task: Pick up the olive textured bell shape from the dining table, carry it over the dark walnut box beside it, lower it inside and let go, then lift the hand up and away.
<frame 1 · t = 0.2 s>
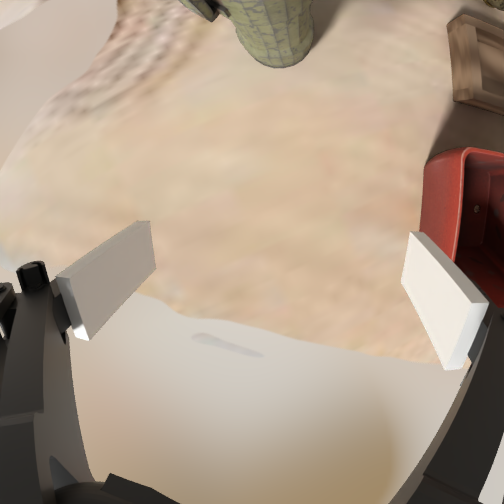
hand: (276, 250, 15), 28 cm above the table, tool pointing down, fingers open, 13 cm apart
olive textured bell shape: (487, 0, 22), on the table
walnut box: (500, 77, 28), on the table
thermos: (279, 40, 33), on the table
plant pot: (456, 206, 37), on the table
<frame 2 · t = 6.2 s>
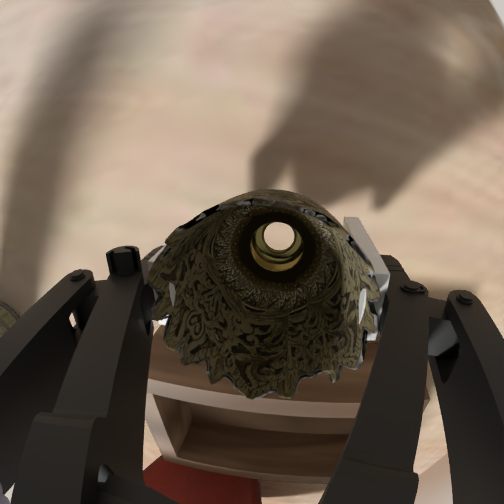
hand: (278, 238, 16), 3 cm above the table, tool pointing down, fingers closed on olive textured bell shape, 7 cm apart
olive textured bell shape: (279, 234, 16), point 2 cm above the table, touching gripper
walnut box: (280, 393, 24), on the table
thermos: (15, 329, 30), on the table
plant pot: (216, 477, 34), on the table
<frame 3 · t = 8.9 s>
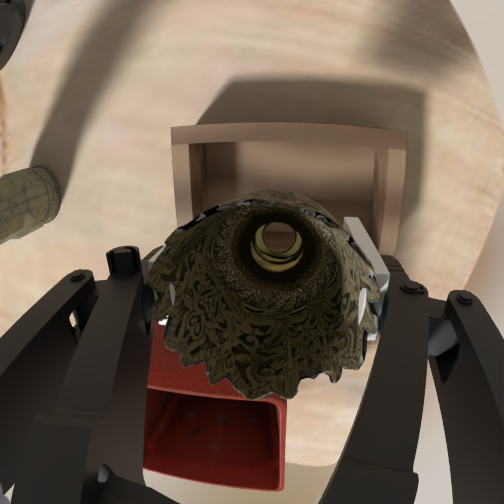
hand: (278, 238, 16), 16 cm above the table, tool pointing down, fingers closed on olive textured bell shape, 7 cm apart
olive textured bell shape: (279, 234, 16), point 15 cm above the table, touching gripper
walnut box: (290, 185, 31), on the table
thermos: (42, 193, 36), on the table
plant pot: (225, 346, 40), on the table
when the fingers open (3 cm above the table, at t = 11.8 s): olive textured bell shape drops 2 cm, resting on walnut box.
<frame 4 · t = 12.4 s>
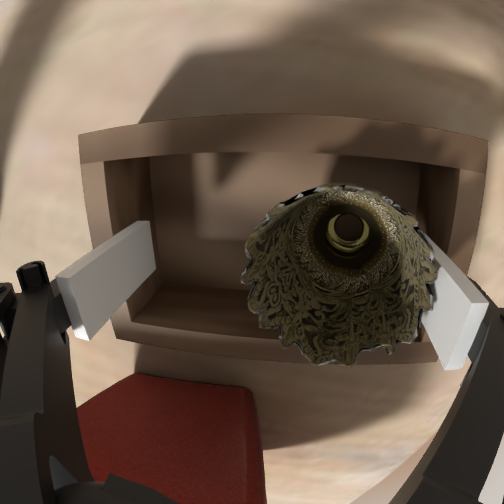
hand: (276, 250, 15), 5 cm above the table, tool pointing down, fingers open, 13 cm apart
olive textured bell shape: (349, 226, 18), point 1 cm above the table, touching gripper, walnut box
walnut box: (282, 219, 19), on the table
plant pot: (200, 416, 29), on the table
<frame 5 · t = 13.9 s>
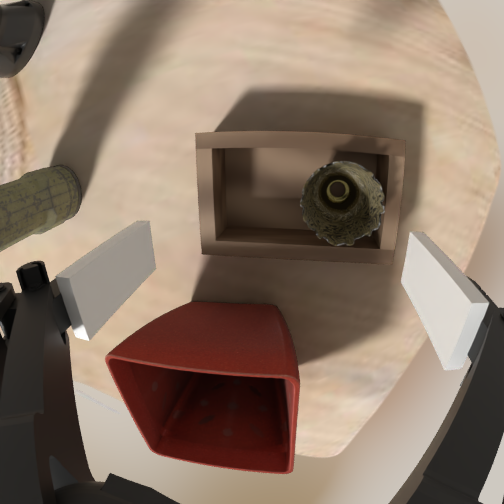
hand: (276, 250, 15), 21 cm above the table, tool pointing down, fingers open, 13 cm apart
olive textured bell shape: (337, 189, 32), point 1 cm above the table, touching walnut box
walnut box: (300, 187, 34), on the table
thermos: (62, 191, 39), on the table
plant pot: (237, 337, 43), on the table
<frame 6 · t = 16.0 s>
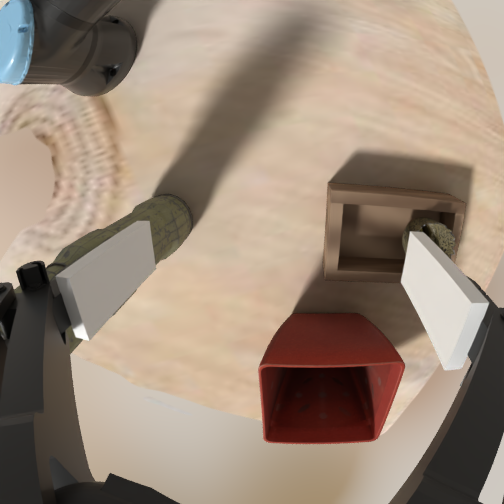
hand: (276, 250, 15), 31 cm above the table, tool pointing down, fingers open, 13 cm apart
olive textured bell shape: (413, 230, 42), point 1 cm above the table, touching walnut box
walnut box: (388, 227, 43), on the table
thermos: (169, 218, 49), on the table
plant pot: (324, 339, 53), on the table
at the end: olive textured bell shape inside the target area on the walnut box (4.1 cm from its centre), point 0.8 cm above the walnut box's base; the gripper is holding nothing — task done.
